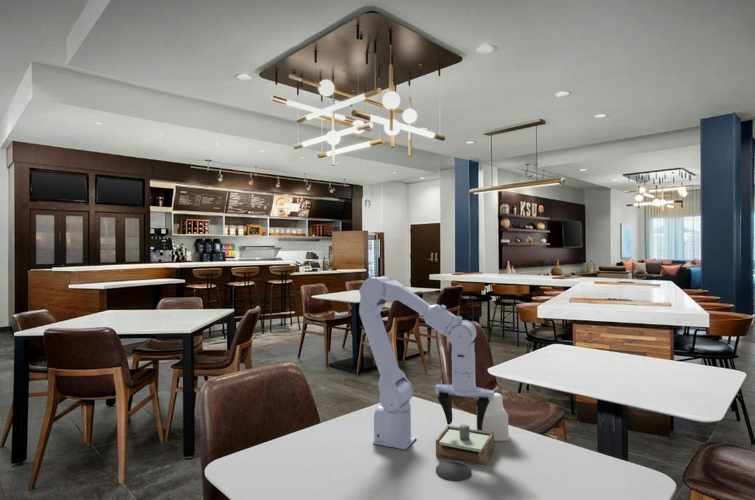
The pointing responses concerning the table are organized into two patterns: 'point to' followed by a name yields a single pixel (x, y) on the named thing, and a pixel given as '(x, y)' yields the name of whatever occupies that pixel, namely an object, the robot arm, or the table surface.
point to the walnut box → (464, 454)
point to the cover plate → (461, 444)
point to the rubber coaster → (453, 471)
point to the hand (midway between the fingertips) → (464, 425)
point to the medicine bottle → (496, 418)
